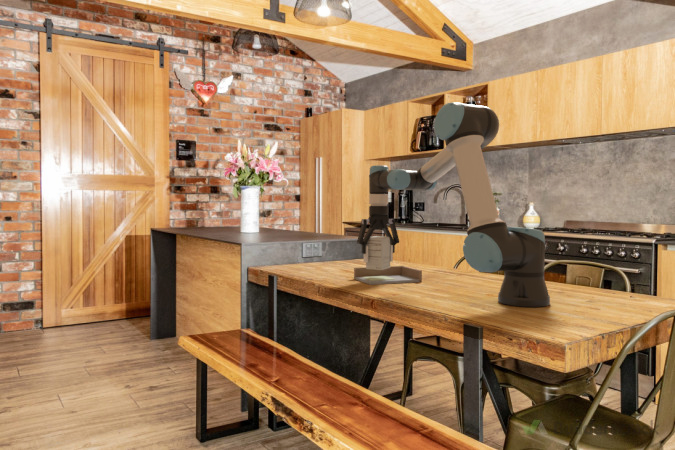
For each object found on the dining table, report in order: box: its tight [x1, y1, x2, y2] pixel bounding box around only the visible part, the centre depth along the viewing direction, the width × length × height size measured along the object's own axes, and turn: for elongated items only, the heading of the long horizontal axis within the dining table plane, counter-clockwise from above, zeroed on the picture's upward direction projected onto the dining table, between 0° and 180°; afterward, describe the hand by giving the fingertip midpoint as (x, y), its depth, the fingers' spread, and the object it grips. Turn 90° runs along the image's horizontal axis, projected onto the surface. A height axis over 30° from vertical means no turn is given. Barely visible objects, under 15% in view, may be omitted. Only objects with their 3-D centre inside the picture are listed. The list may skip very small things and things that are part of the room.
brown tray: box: [353, 265, 423, 286], centre depth 211 cm, size 16×22×4 cm
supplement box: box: [365, 235, 391, 270], centre depth 210 cm, size 7×7×13 cm
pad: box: [362, 276, 395, 281], centre depth 210 cm, size 10×10×1 cm
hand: (378, 261), depth 210 cm, fingers closed on supplement box, 10 cm apart
